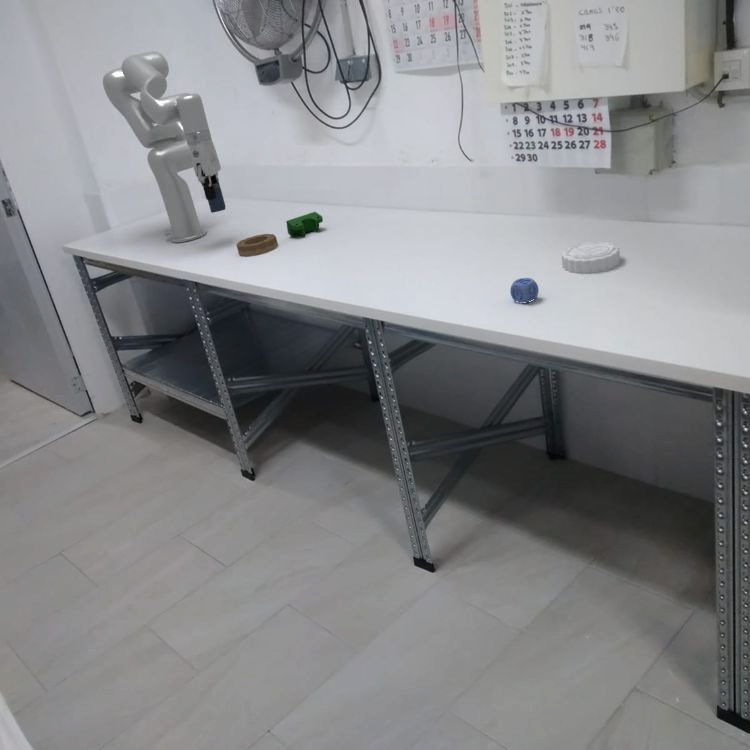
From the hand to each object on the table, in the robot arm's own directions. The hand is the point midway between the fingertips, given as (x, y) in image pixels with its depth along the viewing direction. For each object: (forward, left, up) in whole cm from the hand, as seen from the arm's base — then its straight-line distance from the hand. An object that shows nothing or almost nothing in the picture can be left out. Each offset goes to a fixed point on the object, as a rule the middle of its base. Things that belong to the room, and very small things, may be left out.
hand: (214, 196), depth 231 cm
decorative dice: (+95, -77, -16) cm, 123 cm away
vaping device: (0, 0, -5) cm, 5 cm away
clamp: (+27, 0, -16) cm, 32 cm away
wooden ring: (+15, -11, -16) cm, 24 cm away
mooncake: (+109, -60, -16) cm, 125 cm away
